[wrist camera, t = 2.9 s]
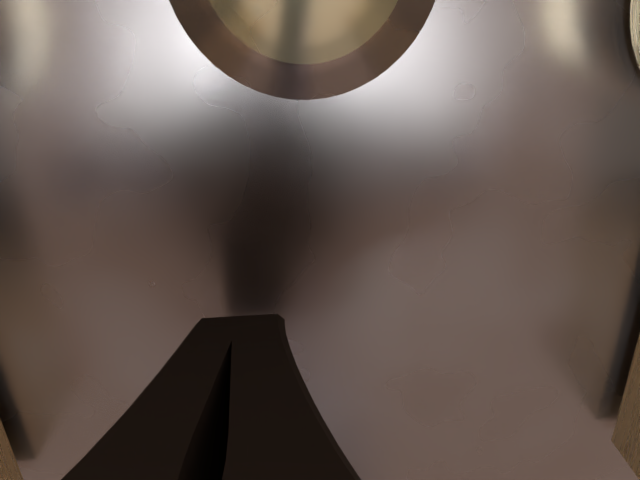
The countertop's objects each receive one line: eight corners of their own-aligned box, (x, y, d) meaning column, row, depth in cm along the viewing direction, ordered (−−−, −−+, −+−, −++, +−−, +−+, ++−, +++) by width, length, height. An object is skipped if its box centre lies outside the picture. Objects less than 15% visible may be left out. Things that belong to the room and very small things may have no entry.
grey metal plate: (673, 449, 14) (752, 543, 12) (-48, 502, 14) (-119, 612, 11) (895, -204, 8) (1144, -281, 6) (-368, -172, 8) (-668, -243, 5)
